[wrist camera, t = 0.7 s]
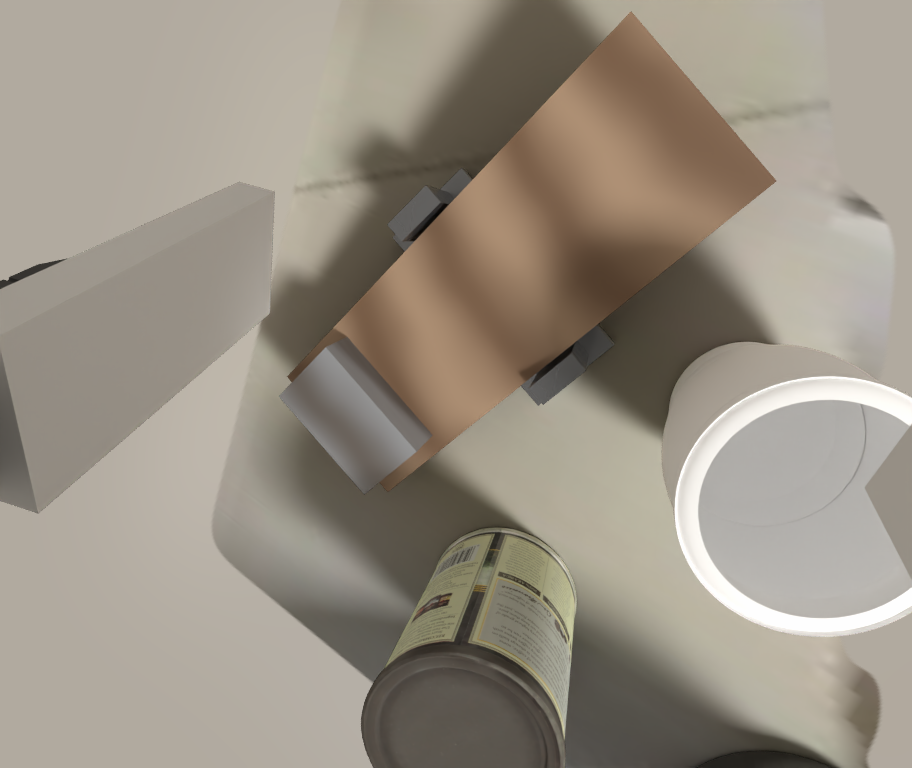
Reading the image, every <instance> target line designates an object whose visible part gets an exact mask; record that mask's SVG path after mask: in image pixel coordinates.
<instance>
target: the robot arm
mask: <svg viewBox="0 0 912 768" xmlns="http://www.w3.org/2000/svg"><path fill="white" fill-rule="evenodd" d="M274 197H275V192H274V191H270V190H267V189H263V188H260V187H256V186H252V185H249V184H245V183H241V182H238V183H235V184H233V185H231V186H229V187H227V188H224V189H222V190H220V191H218V192H215V193H213V194H211V195H209V196H206V197H204V198H202V199H200V200H198V201H196V202H193V203H191V204H189V205H187V206H184V207H182V208H180V209H178V210H175V211H173V212H171V213H169V214H166V215H164V216H162V217H160V218H158V219H155V220H153V221H151V222H149V223H147V224H144V225H142V226H140V227H138V228H135V229H133V230H131V231H129V232H126V233H124V234H122V235H120V236H117V237H115V238H113V239H111V240H108V241H106V242H104V243H102V244H100V245H97V246H95V247H93V248H91V249H88V250H86V251H84V252H82V253H80V254H77V255H75V256H73V257H71V258H68V259H63V260H58V261H54V262H49V263H44V264H39V265H36V266H34V267H31V268H29V269H27V270H24V271H22V272H20V273H18V274H15V275H13V276H11V277H9V280H8V281H6V280H2V281H0V501H2V502H5V503H9V504H11V505H14V506H17V507H20V508H23V509H26V510H29V511H32V512H35V513H39V512H40V511H42V510H43V509H44V508H45V507H46V506H48V505H49V504H50V503H51V502H52V501H53V500H54V499H55V498H57V497H58V496H59V495H60V494H61V493H63V492H64V491H65V490H66V489H67V488H68V487H70V485H72V484H73V483H74V482H75V481H76V480H78V479H79V478H80V477H81V476H82V475H83V474H85V473H86V472H87V471H88V470H89V469H90V468H92V467H93V466H94V465H95V464H96V463H97V462H98V461H100V460H101V459H102V458H103V457H104V456H105V455H107V454H108V453H109V452H110V451H111V450H112V449H113V448H115V447H116V446H117V445H118V444H119V443H120V442H122V441H123V440H124V439H125V438H126V437H127V436H129V435H130V434H131V433H132V432H133V431H134V430H135V429H137V427H139V426H140V425H141V424H142V423H144V422H145V421H146V420H147V419H148V418H149V417H151V416H152V415H153V414H154V413H155V412H156V411H157V410H159V409H160V408H161V407H162V406H163V405H164V404H165V403H167V402H168V401H169V400H170V399H171V398H173V397H174V396H175V395H176V394H177V393H178V392H179V391H180V390H182V389H183V388H184V387H185V386H186V385H187V384H189V383H190V382H191V381H192V380H193V379H194V378H196V377H197V376H198V375H199V374H200V373H201V372H202V371H204V370H205V369H206V368H207V367H208V366H209V365H211V364H212V363H213V362H214V361H215V360H217V359H218V358H219V357H220V356H221V355H222V354H223V353H225V352H226V351H227V350H228V349H229V348H230V347H232V346H233V345H234V344H235V343H236V342H237V341H238V340H240V339H241V338H242V337H243V336H244V335H245V334H247V333H248V332H249V331H250V330H251V329H252V328H254V327H255V326H256V325H257V324H258V323H259V322H261V321H262V320H263V319H264V318H265V317H266V316H267V315H269V314H270V296H271V271H272V247H273V246H272V245H273V222H274ZM864 488H865V490H866V492H867V494H868V496H869V498H870V500H871V502H872V504H873V506H874V508H875V510H876V511H877V513H878V515H879V517H880V519H881V521H882V523H883V525H884V527H885V529H886V531H887V533H888V535H889V537H890V539H891V541H892V543H893V545H894V547H895V549H896V551H897V553H898V554H899V556H900V558H901V560H902V562H903V564H904V566H905V568H906V570H907V572H908V574H909V576H910V578H911V580H912V424H911V426H910V427H909V428H908V430H907V431H906V432H905V434H904V435H903V436H902V438H901V439H900V440H899V442H898V443H897V444H896V446H895V447H894V448H893V450H892V451H891V452H890V454H889V455H888V456H887V458H886V459H885V460H884V462H883V463H882V464H881V466H880V467H879V468H878V470H877V471H876V472H875V474H874V475H873V476H872V478H871V479H870V480H869V482H868V483H867V485H866V486H865V487H864ZM697 768H831V767H829V766H826V765H824V764H822V763H819V762H817V761H814V760H811V759H808V758H804V757H800V756H796V755H792V754H786V753H779V752H767V751H754V752H742V753H735V754H730V755H726V756H722V757H719V758H716V759H713V760H711V761H708V762H706V763H704V764H702V765H700V766H698V767H697Z"/></svg>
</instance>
